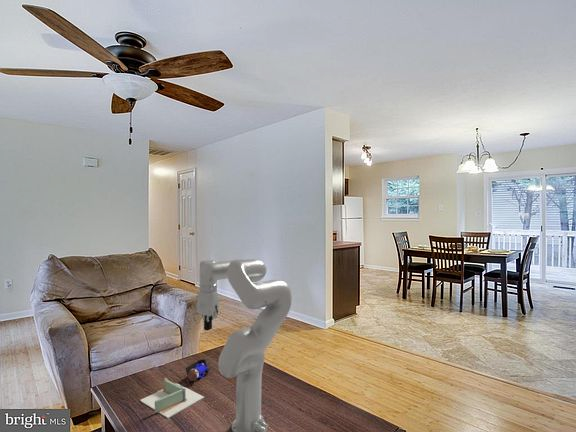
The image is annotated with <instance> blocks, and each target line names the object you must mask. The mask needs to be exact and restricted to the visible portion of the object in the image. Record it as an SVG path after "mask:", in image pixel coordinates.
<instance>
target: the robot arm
mask: <svg viewBox="0 0 576 432" xmlns="http://www.w3.org/2000/svg"><path fill="white" fill-rule="evenodd" d="M266 274H267V266H266V264H265V263H264V262H263V261H261V260H260V259H257V258H256V259H255V258H251V259H250V258H249V259H248V258H247V259H234V260H223V261H216V260H213V259H208V260H207V259H204V260H201V261H200V263H199V290H198V293H197V295H196V296H197V298H196V313H198V314H199V315H200V316H201V317H202V321H203V330H204V331H209V330H212V329H213V320H214V319H218V314H219V311H220V308H219V307H220V306H219V305H220V304H219V303H220V302H219V294H218V280H225V279H227V280H228V282H229V285H230V286H231V287H232V289H233V291H234V292H235V294H236V295H237V296H238V298H239V299H240V301H241V303H242V304H243V305H244V306H245V307H246V308H247V309H250V310H257V309H261V308H263V309H262V311H260V312H259V314H258V315H257V317H256V319H255V321H254V322H253V323H252V324H251V325H248V326H246V327H242V328H240V329H237V330H234V331H233V332H232V333H230V335H229V336H228V338H227V340H226V342H225V344H224V346H223V347H222V350H221V352H220V354H219V357H218V370H219V372H220V375H222V376H223V377H224V378H226V379H230V378H235V377H236V382H235V385H236V387H235V419H234V420H233V421H232V422H231V432H267V431H268V427H269V423H266V420H264V415H262V383H263V382H262V378H263V376H262V375H263V368H264V362H265V357H266V356H265V350H266V349H267V348H268V347H269V346H270V345H271V343H272V341H273V339H274V337H275V336H276V334H277V332H278V330H279V329H280V328H281V327H280V326H281V325H282V324H283V322H284V321H285V319H286V318H287V317H288V314H289V312H290V310H291V306H292V302H293V301H292V299H293V298H292V291H291V288H290V286H289V284H288V283H287V282H286V281H284V280H281V279H270V280H264V281H261V280H263V279H264V278H265V276H266Z"/></svg>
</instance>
